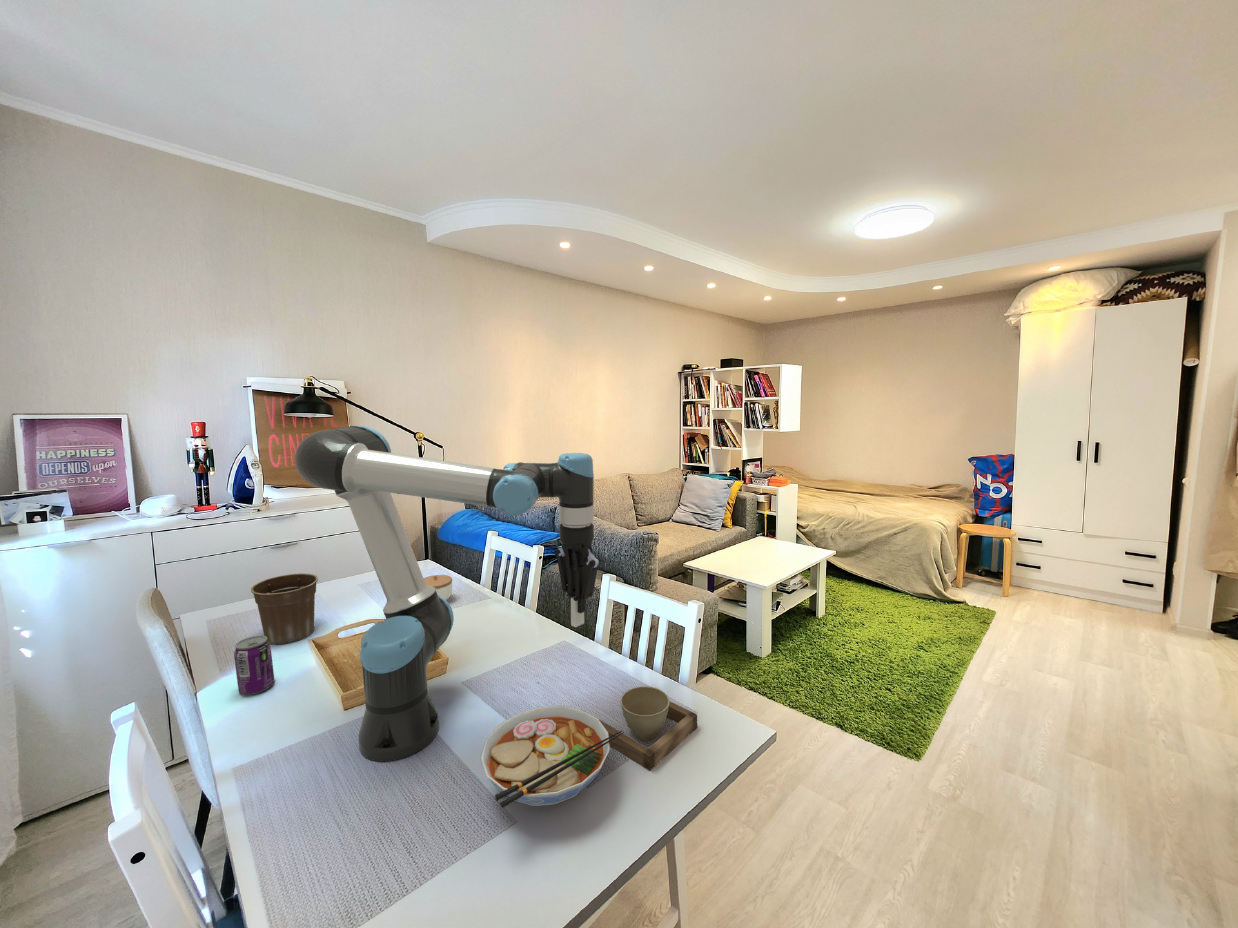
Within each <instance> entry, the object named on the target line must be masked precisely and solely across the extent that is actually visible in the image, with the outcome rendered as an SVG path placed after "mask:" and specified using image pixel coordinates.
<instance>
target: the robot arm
mask: <svg viewBox="0 0 1238 928" xmlns="http://www.w3.org/2000/svg"><path fill="white" fill-rule="evenodd" d="M593 460H594V459H593V457H592V456H591V455H590V454H589V453H588V454H587V453H585V452H584V453H581V452H572V453H569V452H567V453H562V454H560V455H559V456H558V460H557V462H552V463H547V462H543V463H541V462H540V463H539V462H537V463H536V462H522V461H521V462H520V461H519V462H515V463H514V462H513V463H512V462H510V463H507V464H505V465H503V468H502V469H500V468H499V469H498V468H495V467H494V468H493V467H489V466H488V467H487V466H483V465H482V466H480V465H474V464H468V463H460V462H455V461H454V462H453V461H447V460H440V459H435V458H434V459H433V458H427V457H420V456H414V455H406V454H400V453H393V452H392V449H391V446H390V443H389V442H388V440H387V439H386V437H385V436H384V435H383V434H382V433H380V432H379V431H378V430H376V429H374V428H371V427H369V426H361V425H360V426H359V425H350V426H345V427H338V428H331V429H323V430H317V431H315V432H313V433H310V434H309V435H307V436H306V437H304V438H303V439H302V441H301V442H300V443H299V444H298V446H297V448H296V450H295V454H294V464H295V468H296V470H297V473H298V474H299V476H300V477H301V478H302V479H303V480H304V481H306V483H308V484H310V485H312V486H313V487H316V488H319V489H324V490H330V491H334V493H335V495H336V497H339V498H340V499H343V500H345V501H346V502H347V504H348V505H349V506H348V507H349V508H350V511H351V514H352V516H353V518H354V521H355V524H356V526H357V529H358V531H359V534H360V536H361V539H362V541H363V545H364V547H365V549H366V551H367V553H368V556H369V559H370V560H371V564H372V566H373V569H374V571H375V574H376V576H377V579H378V581H379V584H380V586H381V587H380V588H381V589H382V591H383V594H384V597H385V599H386V603H385V605H384V607H383V608H382V612H383V614H384V617H385V619H384V620H383V621H379V622H376V623H375V624H374V625H372V626H371V627H369V628H368V630H366V632H365V633H364V634H363V636H362V637H361V642H360V653H359V659H360V660H359V661H360V663H361V664H360V665H361V671H362V673H361V674H362V681H363V682H362V683H363V692H364V693H363V695H364V701H365V702H364V703H365V711H364V713H363V714H364V715H363V718H362V722H361V726H360V728H359V732H358V746H359V748H358V749H359V752H360V754H361V755H362V756H363V757H365V758H367V759H368V760H370V761H371V760H372V761H375V762H376V761H377V762H390V761H397V760H400V759H403V758H406V757H410V756H412V755H414V754H416V753H418V752H419V751H422V749H425V748H426V747H427V746H428V745H430V744H431V742H433V740H435V738H436V736H437V735H438V732H439V731H440V730H439V729H440V721H439V720H440V718H439V714H438V711H437V709H436V707H435V705H434V702H433V701H432V699H431V696H430V694H429V692H428V678H427V677H428V675H427V666H428V665H429V663H430V661H431V660H432V659H433V657H434V656H435V654H437V652H438V650H439V649H440V647H441V646H442V645H443V644H444V643H445V642H446V641H447V639H448V637H449V635H450V634H451V631H452V628H453V625H454V612H453V608H452V606H451V604H450V603H449V602H448V600H445V599H444V598H441V597H440V596H439V595H437V592H436V589H435V588H434V587H432V586H429V585H426V583H425V581H424V578H425V577H424V576H423V573H422V571H421V568H420V565H419V563H418V560H417V558H416V555H415V553H414V550H413V548H412V545H411V543H410V539H409V537H408V534H407V533H406V530H405V528H404V525H403V522H402V519H401V517H400V514H399V511H398V510H397V506H396V503H395V501H394V499H393V497H392V494H396V495H397V494H398V495H404V496H412V497H418V498H426V499H434V500H439V501H445V502H446V501H447V502H453V503H460V504H461V503H462V504H468V505H475V506H482V507H489V508H495V509H498V511H500V512H501V513H502V514H504V515H506V516H513V517H515V516H521V515H523V514H524V513H526V512H528V511H529V510H531V509H532V508H533V507H534V505H535V504H536V502H537V501H538V499H539V498H558V500H559V502H558V503H559V504H558V505H559V507H558V508H559V511H558V515H559V517H558V518H559V520H558V522H559V523H560V525H559V541H560V542H561V546H560V547H559V548H557V549H554V551H553V553H554V555H555V559H556V560H557V566H558V572H559V573H558V574H559V577H560V584H561V589H562V592H563V593H567V596H568V597H569V598H568V599H569V610H570V625H571V627H574V628H577V627H579V626H582V625H584V624H585V612H586V609H587V608H586V605H587V604H586V603H587V602H586V601H587V600H586V599H589V598H591V597H593V595H594V591H595V590H594V589H595V585H596V580H597V573H598V569H599V567H600V565H601V563H602V559H601V558H600V557H598V558H596V556H595V555H594V552H593V547H592V543H593V541H594V537H595V535H594V534H595V533H594V532H595V531H594V529H595V528H594V527H595V526H594V524H593V523H594V486H595V485H594V482H595V481H594V480H595V479H594V477H595V474H594V461H593Z"/></svg>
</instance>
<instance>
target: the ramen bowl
mask: <svg viewBox="0 0 1238 928" xmlns="http://www.w3.org/2000/svg"><path fill="white" fill-rule="evenodd" d="M599 720H600V719H599V718H597V717H595V716H594V715H592V714H590V713H588V712H586V711H585V710H582V709H579V708H575V707H574V708H573V707H571V706H570V707H568V706H565V705H564V706H563V705H555V706H553V705H552V706H551V705H550V706H539V707H536V708H532V709H529V710H525V711H522V712H518V713H516V714H514V715H513V716H511V717H510V718H508V719H506V720H505V721H503V722H502V723H500V724H499V725H497V727H495V729H493V731H492V732H491V734H489V736H488V737H487V738H486V739H485V741H484V744H483V748H482V752H481V755H480V761H481V764H482V766H483V769H484V772H485V775H486V777H487V779H488V780H489V781H490V783H491V784H492V785H494V786H495V787H496V788H497V789H498V790H500V791H501V792H499V793H497V794H495V795H494V799H495V801H496V802H498V801H500V800H502V799H503V798H505V797H507V798H506V799H504V800H502V801H500V803H499V806H500V808H501V809H504V808H505V807H507V806H508V805H510V804H512V803H513V802H514V803H515V802H517V803H521V804H523V805H529V806H533V807H538V806H549V805H550V806H551V805H553V806H554V805H556V804H559V803H561V802H564V801H567V800H569V799H572V798H574V797H576V796H577V795H578V794H579V793H580V792H582V791H583V790H584V789H585V788H586V787H588V786H589V785H590V784H591V782H593V781H594V780H595V778H597V776H598V775H599V773H600V772H601V769H602V767H603V765H604V763H605V761H606V759H607V756H608V754H609V753H610V751H611V747H610V744H609V742H610V741H612V740H613V739H615V738H617V737H618V736H620V735H622V734H625V733H624V731H623V730H619V731H620V732H621V734H619V735H617V734H618V733H620V732H618V733H616V734H614V735H612V736H610V737H609V735H608V732H607V730H606V729H605V727H604V726H603V725H602V723H601V722H600V721H599ZM615 735H617V736H616V737H614V738H612V739H610V740H609V738H611V737H613V736H615Z"/></svg>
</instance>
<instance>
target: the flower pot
mask: <svg viewBox="0 0 1238 928" xmlns="http://www.w3.org/2000/svg"><path fill="white" fill-rule="evenodd" d="M669 701H670V698H669V696H668V694H667V693H666V692H665V691H663V690H662V689H659V688H658V687H653V686H649V685H648V686H646V685H641V686H635V687H633V688H630V689H628V690H626V691H625V692H623V694H622V696H621V697H620V706H621V711H622V714H623V716H624V717H623V718H624V720H625V722H626V724H627V726H628V728H629V729H630V731H631V732H632V734H633V735H634V736H635V737H636V738H638V739H639V740H645V741H647V740H652V739H655V738H656V737H657V735H658V734H659V733H660V731H661V729H662V728H663V726H664V724H665V721H666V720H667V719H666V717H667V713H668V709H669Z"/></svg>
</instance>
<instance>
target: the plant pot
mask: <svg viewBox="0 0 1238 928" xmlns="http://www.w3.org/2000/svg"><path fill="white" fill-rule="evenodd" d="M318 581H319V577H318V575H315V574H312V573H303V572H301V573H299V572H298V573H289V574H284V575H278V576H274V577H270V578H267V579H265V580H262V581H259V582H257V583H256V584H253V586H252V587H251V588H250V592H251V593H252V594H253V597H254V601H255V604H256V606H257V609H258V613H259V617H260V621H261V628H262V632H263V636H266V637H267V641H268V642H269V643H270V645H286V644H289V643H290V642H298V641H301V640H303V639H305V638H307V637H309V636H311V635H312V634H313V633H314V632H315V605H316V604H315V598H316V597H315V595H316V592H317V583H318Z"/></svg>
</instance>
